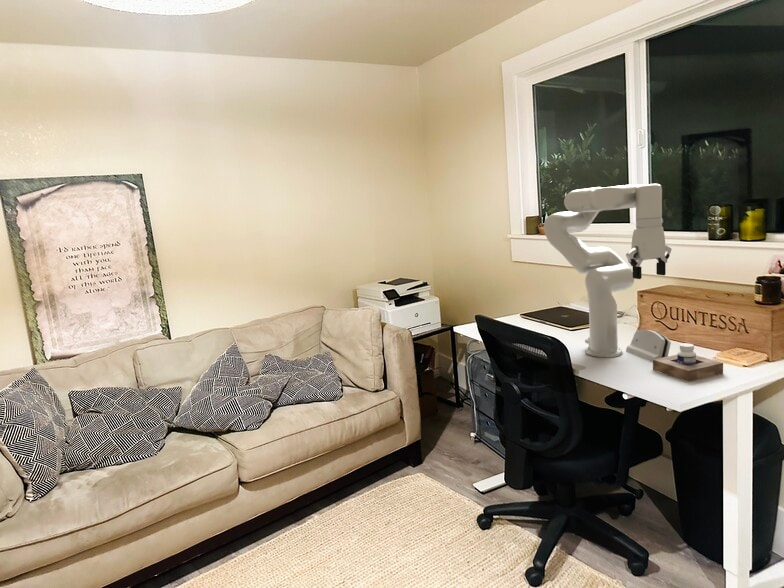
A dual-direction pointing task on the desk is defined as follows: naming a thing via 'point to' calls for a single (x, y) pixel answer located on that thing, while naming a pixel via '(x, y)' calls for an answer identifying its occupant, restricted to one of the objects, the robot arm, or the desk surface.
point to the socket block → (688, 368)
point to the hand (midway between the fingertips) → (649, 276)
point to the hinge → (649, 345)
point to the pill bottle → (686, 354)
